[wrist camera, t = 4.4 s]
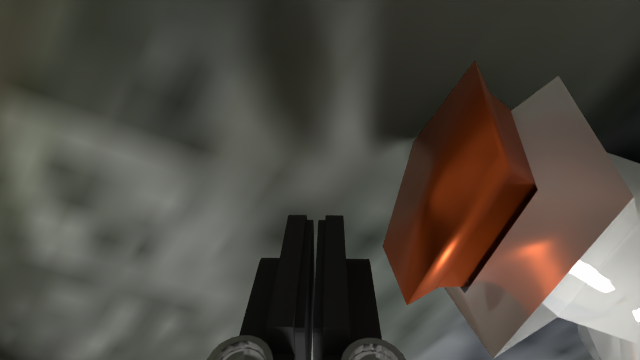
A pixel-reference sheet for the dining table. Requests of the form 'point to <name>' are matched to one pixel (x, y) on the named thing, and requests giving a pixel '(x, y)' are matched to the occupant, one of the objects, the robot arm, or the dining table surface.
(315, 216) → the dining table surface
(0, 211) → the dining table surface
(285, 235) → the robot arm
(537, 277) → the potion bottle
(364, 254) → the dining table surface
